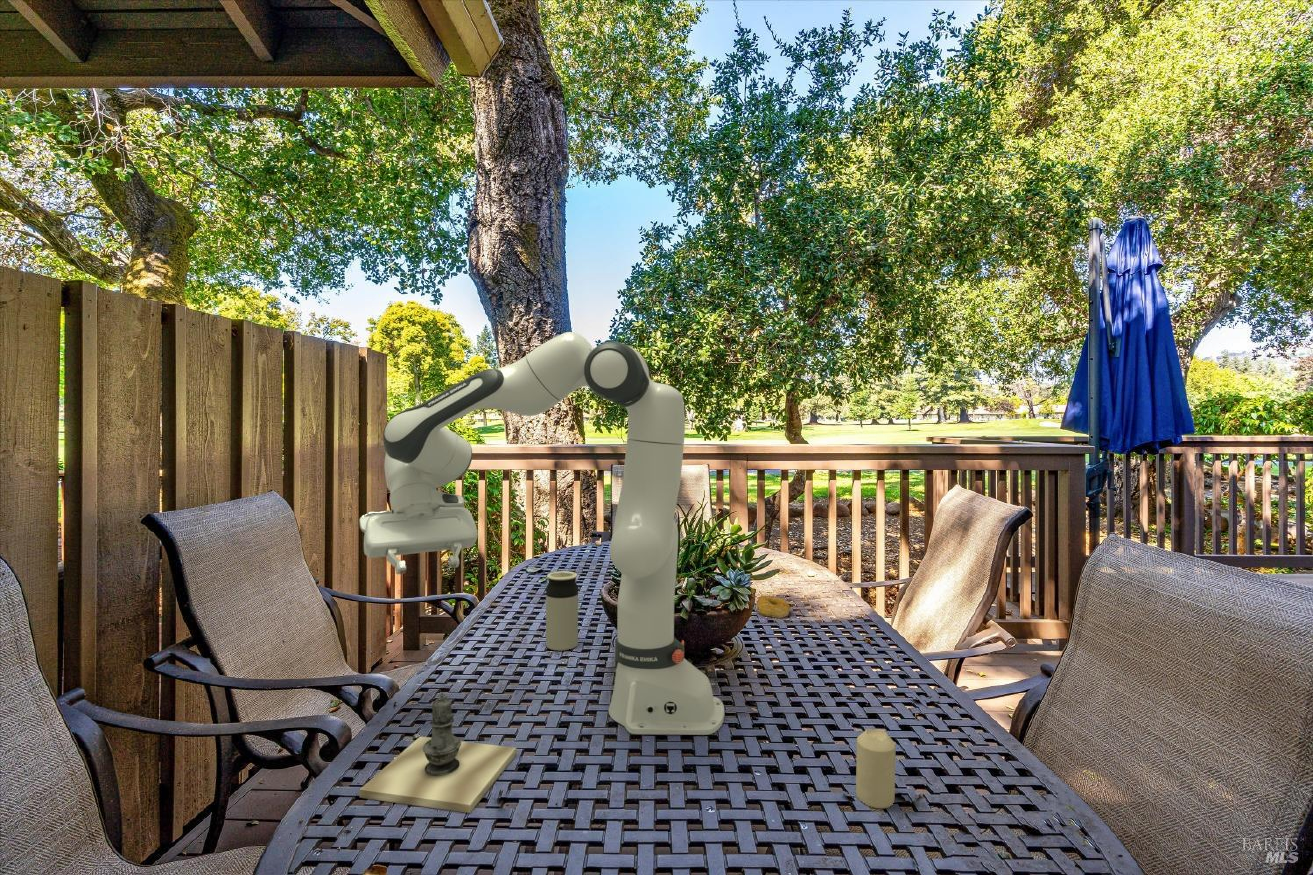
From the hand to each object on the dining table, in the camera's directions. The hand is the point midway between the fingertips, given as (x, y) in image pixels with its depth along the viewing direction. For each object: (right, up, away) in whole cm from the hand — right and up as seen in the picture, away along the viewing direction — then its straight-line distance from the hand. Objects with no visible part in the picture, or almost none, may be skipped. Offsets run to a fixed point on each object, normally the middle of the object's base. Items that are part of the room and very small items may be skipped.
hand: (428, 568), depth 114 cm
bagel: (+76, -28, +70) cm, 107 cm away
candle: (+75, -31, -20) cm, 83 cm away
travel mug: (+18, -28, +43) cm, 54 cm away
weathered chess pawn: (+7, -29, -14) cm, 33 cm away
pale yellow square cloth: (+8, -30, -14) cm, 34 cm away
